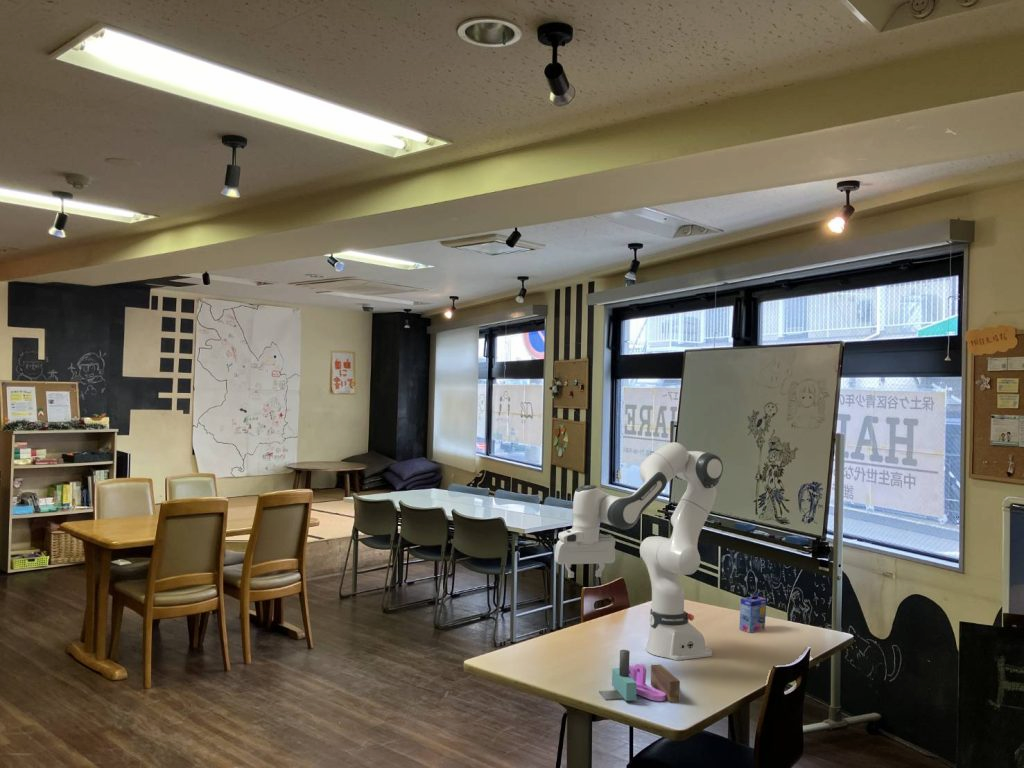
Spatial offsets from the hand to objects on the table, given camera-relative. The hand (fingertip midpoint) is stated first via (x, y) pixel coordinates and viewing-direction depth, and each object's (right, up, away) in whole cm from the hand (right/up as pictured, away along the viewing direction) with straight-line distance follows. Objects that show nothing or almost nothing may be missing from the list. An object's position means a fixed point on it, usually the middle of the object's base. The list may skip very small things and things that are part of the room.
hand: (584, 577), depth 246 cm
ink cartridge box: (+70, -32, +44) cm, 89 cm away
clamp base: (+12, -28, -26) cm, 40 cm away
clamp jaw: (+9, -28, -27) cm, 40 cm away
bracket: (+16, -28, -25) cm, 41 cm away
